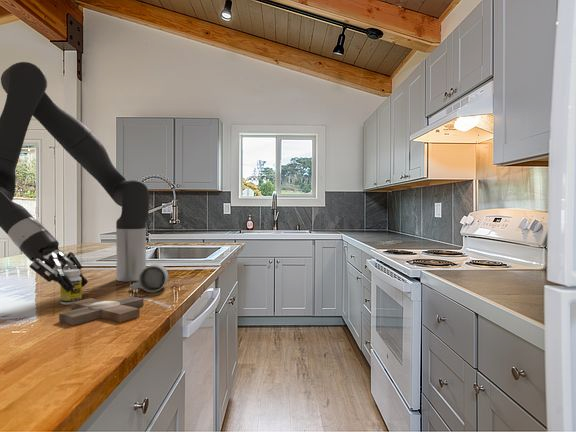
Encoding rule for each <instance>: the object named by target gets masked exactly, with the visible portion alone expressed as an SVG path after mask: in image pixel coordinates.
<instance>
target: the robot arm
mask: <svg viewBox="0 0 576 432" xmlns="http://www.w3.org/2000/svg"><path fill="white" fill-rule="evenodd" d="M0 83H1V84H0V85H1V87H2V89H3V91H4V92H5V93H6V99H5V102H4V106H3V109H2V111H1V114H0V228H1V229H2V230H3V231H4V232H5V233H6V235H8V237H9V238H10V240H11V242H13V243H14V245H16V247H17V248H18V249H19V250H20V251H21V252H22V254H24V255H25V256H26V258H28V260H29V261H31V262H32V263H30V265H29V269H31V270H32V271H34V272H35V273H36V274H38V275H39V277H42V278H43V279H44V280H45V281H47V282H49V283H50V282H52V281H53V282H54V283H57V284H59V285H60V287H61V286H62V287H63V288H64V289H65V290H66V291H67V292H69V291H71V290H72V289H73V288H74V287H75V285H74V284H73V283H72V282H71V281H70V280H69V279H68V278H67V277H66V275H65V276H63V275H64V273H63V272H62V271H63V270H68V269H80V271H81V270H82V269H83V266H82V264H81V263H80V261H79V260H78V258H77V257H76V256H75V254H74V253H73V252H71V251H70V252H68V253H65V252H63V251H61V250H60V248H59V244H60V243H59V241H58V240H57V239H56V238H55V237H54V236H53V234H51V233H50V231H48V229H47V228H46V227H45V226H44V225H43V224H42V223H40V222H39V221H38V220H37V219H36V218H35V217H34V216H32V214H31V213H30V212H29V211H28V210H27V209H26V208H25V207H24V206H22V205H21V204H19V203H17V202H14V201H13V199H14V197H15V194H16V181H17V180H16V178H17V177H16V168H17V165H18V163H19V159H20V156H21V153H22V149H23V145H24V142H25V139H26V138H25V137H26V135H27V132H28V129H29V125H30V122H31V120H32V117H33V118H35V119H36V120H37V121H38V122H39V123H40V124H41V126H42V127H43V128H44V129H45V130H46V131H47V132H48V133H49V134H50V135H51V137H52V138H53V139H54V140H55V141H56V142H57V143H59V145H60V146H61V147H62V148H63V149H64V150H65V151H66V153H68V155H70V156H71V158H73V159H74V160H75V161H76V162H77V163H78V164H79V165H80V166H81V167H82V168H83V169H84V170H85V171H86V172H88V174H90V175H91V177H93V178H94V179H95V180H96V181H97V182H98V184H99V185H100V186H101V187H102V188H103V189H104V190H105V192H106V193H107V194H108V196H109V197H110V198H111V199H112V200H113V202H114V203H115V204H116V205H117V206H119V207H121V214H120V216H119V218H118V219H116V222H115V224H116V225H115V226H116V231H115V232H116V233H115V234H116V235H115V238H116V241H115V242H116V243H115V244H116V247H115V248H116V251H115V252H116V258H115V259H116V281H117V282H124V283H125V282H138V281H139V275H140V273H141V272H142V270H143V269H145V268H146V267H147V222H148V221H149V220H148V219H149V216H150V215H149V214H150V213H149V211H150V192H149V189H148V187H147V185H146V183H144V182H142V181H141V180H136V179H133V180H132V179H131V180H128V178H126V177H125V176H124V175H123V174H122V173H121V172H120V171H119V170H118V169H117V168H116V167H115V165H114V164H113V162H112V160H111V159H110V157H109V154H108V151H107V149H106V148H105V145H104V144H103V143H102V142H101V140H100V139H98V137H97V136H96V135H95V134H94V133H93V132H92V131H91V129H90V128H88V127H87V126H86V125H85V124H83V122H82V121H80V120H78V118H76V117H74V116H73V115H71V114H70V113H68V112H67V111H65V109H63V108H61V106H59V105H58V104H57V102H55V100H53V98H52V97H51V96H50V95H49V94H48V93H47V91H46V90H47V88H48V79H47V76H46V74H45V73H44V71H43V70H42V69H41V67H39V66H38V65H36V64H34V63H31V62H28V61H20V62H15V63H13V64H12V65H10V66H9V67H8V68H7V69H5V70H4V71H3V72H2V74H1V76H0ZM79 276H80V277H81V278H82V288H83V287H85V286H86V285H87V284H88V282H89V281H88V279H87V278H86V277H85V276H84V275H83V274H82V273H81V272H80V275H79Z"/></svg>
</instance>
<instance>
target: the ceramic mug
mask: <svg viewBox="0 0 576 432" xmlns="http://www.w3.org/2000/svg"><path fill="white" fill-rule="evenodd" d="M168 279H169V272H168V270H167V268H166V267H165V266H164V265H162V264H158V263H155V264H151V265H149V266H146V268H145V269H143V270H142V272H141V273H140V275H139V281H135V282H134V283H133V284H130V285H129V287H130V290H131V291H135V290H138V289H139V288H141V289H142V290H143V291H146V292H148V293H156V292H159V291H161V290H162V289H163V288H164V287H165V285H166V284H167V282H168Z"/></svg>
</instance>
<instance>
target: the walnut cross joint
mask: <svg viewBox="0 0 576 432" xmlns="http://www.w3.org/2000/svg"><path fill="white" fill-rule="evenodd" d="M144 302H145V301H144V298H142V297H137V296H131V295H128V296H125V297H121V298H117V299H113V300H102V299H96V298H92V297H90V298H85V299H82V300H81V301H76V302H72V303H71V306H70V308H71V310H68V311H63V312H59V313H58V319H59V320H58V322H59V323H62V324H66V325H70V326H76V325H80V324H83V323H86V322H90V321H93V320H98V319H101V318H102V319H106V320H109V321H113V322H118V323H122V322H126V321H130V320H132V319H136V318H139V317H140V315H141V314H140V313H141V312H140V310H141V309H140V308H141V307H143V306H145V305H144Z"/></svg>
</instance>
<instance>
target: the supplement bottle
mask: <svg viewBox="0 0 576 432" xmlns="http://www.w3.org/2000/svg"><path fill="white" fill-rule="evenodd" d="M62 272H63V273H64V275H63V276H65V275H66V277H67V278H68V279H69V280H70V281H71V282H72V283H73V284H74V285H75V287H74V288H73V289H72V290H71V291H69V292H67V291H66V290H65V289H64V288H63V287H62V286H61V285H60V304H61V305H63V306H64V305H67V306H68V305H69V306H70V305H71V303H72V302H76V301H81V300H83V287H82V278H81V277H80V276H79V275H80V273H81V270H80V269H70V268H69V269H68V270H63V271H62Z"/></svg>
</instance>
